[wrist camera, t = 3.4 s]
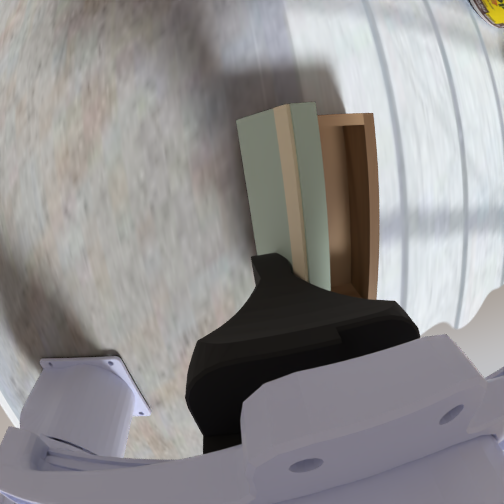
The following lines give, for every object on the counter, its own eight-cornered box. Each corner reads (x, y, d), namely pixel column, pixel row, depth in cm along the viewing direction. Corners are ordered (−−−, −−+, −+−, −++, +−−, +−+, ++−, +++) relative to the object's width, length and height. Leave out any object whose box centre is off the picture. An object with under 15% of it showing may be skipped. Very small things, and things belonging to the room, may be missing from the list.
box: (270, 301, 21) (278, 332, 18) (244, 124, 16) (248, 122, 13) (355, 284, 21) (375, 311, 18) (346, 114, 17) (373, 113, 13)
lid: (279, 338, 18) (269, 341, 17) (248, 118, 13) (233, 120, 13) (327, 431, 11) (312, 436, 11) (315, 101, 6) (286, 103, 6)
